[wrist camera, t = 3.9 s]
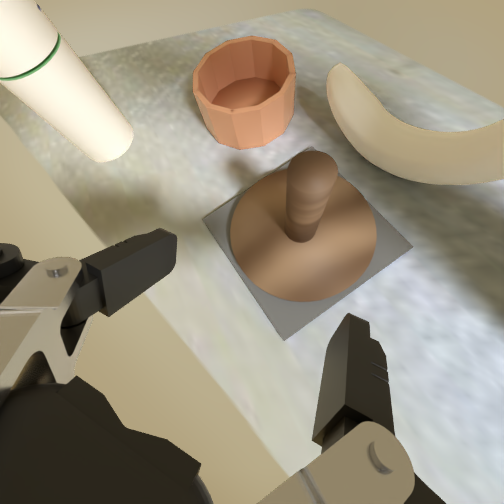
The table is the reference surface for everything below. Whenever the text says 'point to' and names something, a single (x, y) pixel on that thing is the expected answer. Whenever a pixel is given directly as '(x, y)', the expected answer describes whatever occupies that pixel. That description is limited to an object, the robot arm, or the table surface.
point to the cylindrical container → (58, 83)
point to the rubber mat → (301, 313)
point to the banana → (412, 139)
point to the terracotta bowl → (246, 91)
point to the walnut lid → (303, 231)
